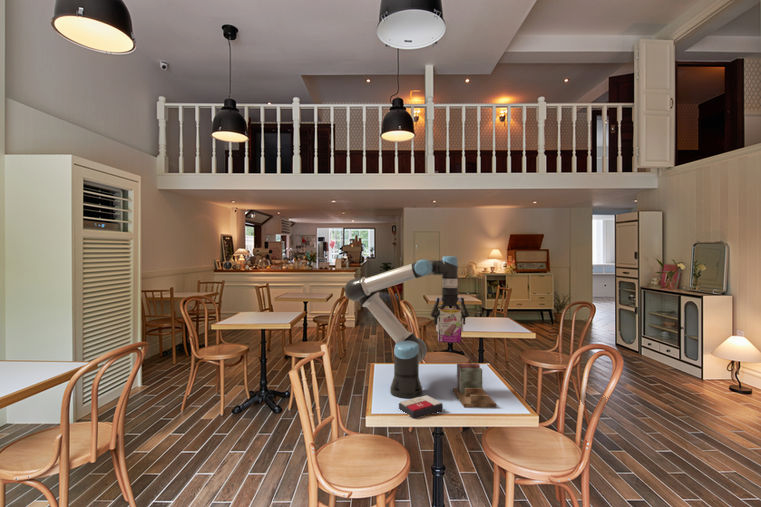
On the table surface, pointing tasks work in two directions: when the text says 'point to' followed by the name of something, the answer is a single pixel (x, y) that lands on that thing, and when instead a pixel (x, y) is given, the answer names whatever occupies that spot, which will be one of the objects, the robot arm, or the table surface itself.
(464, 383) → the book rack
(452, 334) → the candy bar box
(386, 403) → the table surface
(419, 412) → the black red box
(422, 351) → the robot arm
